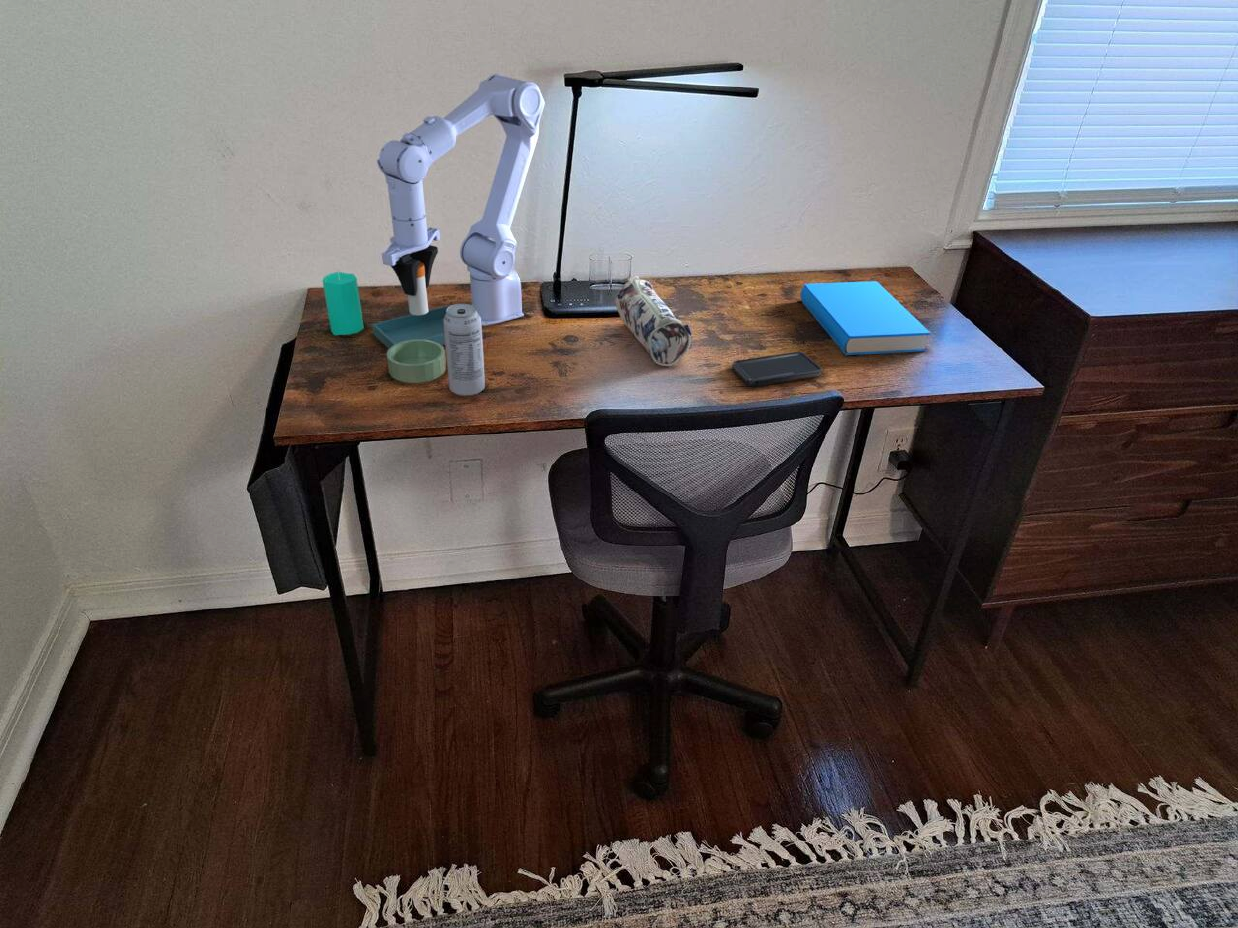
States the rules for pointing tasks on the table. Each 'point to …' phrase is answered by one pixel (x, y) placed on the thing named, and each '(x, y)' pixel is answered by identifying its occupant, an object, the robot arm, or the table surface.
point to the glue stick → (419, 294)
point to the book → (864, 318)
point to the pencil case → (652, 322)
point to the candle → (343, 303)
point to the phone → (776, 368)
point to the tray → (412, 328)
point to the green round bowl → (416, 361)
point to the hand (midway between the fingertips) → (416, 290)
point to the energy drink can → (464, 349)
